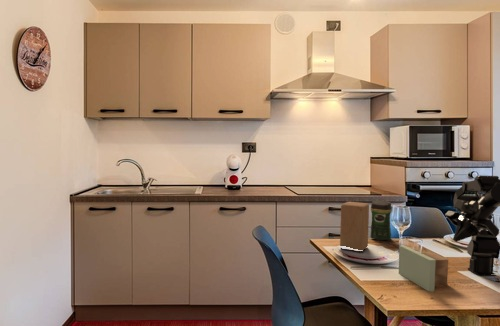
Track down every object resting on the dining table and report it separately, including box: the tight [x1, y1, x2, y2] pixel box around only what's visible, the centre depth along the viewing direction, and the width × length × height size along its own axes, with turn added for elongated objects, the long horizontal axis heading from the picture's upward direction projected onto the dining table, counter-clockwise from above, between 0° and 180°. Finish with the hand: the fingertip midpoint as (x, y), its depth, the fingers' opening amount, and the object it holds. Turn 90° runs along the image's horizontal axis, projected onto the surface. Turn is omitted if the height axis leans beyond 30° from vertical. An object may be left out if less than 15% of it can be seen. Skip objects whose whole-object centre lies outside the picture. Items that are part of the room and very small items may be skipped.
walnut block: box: [421, 251, 449, 286], centre depth 120 cm, size 8×8×8 cm
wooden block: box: [339, 201, 370, 251], centre depth 155 cm, size 10×10×20 cm
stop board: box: [398, 244, 436, 292], centre depth 119 cm, size 2×16×10 cm, turn 10°
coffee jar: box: [369, 200, 393, 241], centre depth 172 cm, size 10×8×19 cm
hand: (454, 240), depth 121 cm, fingers closed
